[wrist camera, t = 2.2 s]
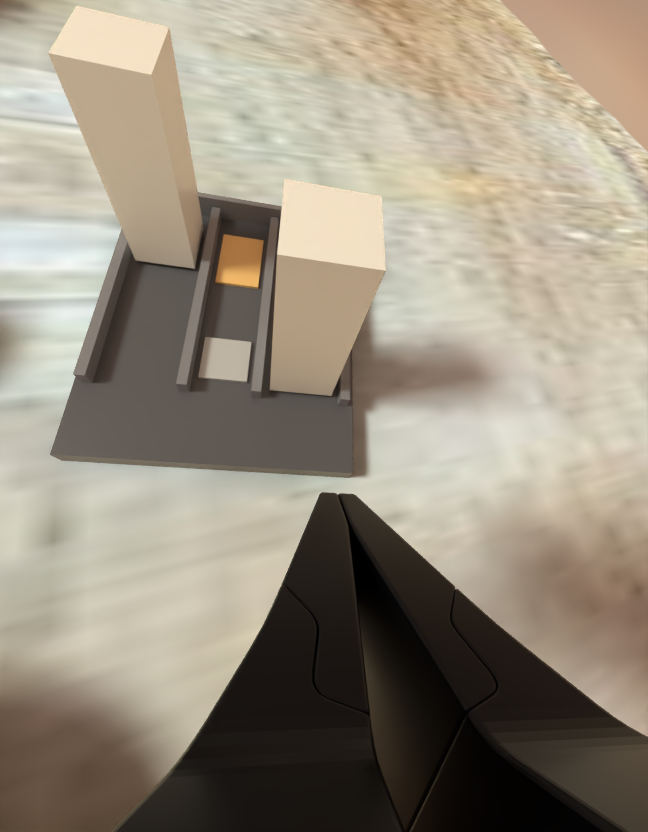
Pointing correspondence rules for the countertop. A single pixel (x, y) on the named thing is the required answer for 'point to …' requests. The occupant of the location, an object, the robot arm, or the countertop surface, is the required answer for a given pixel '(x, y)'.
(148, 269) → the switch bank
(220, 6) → the countertop surface
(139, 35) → the tab far
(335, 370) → the cream tall block
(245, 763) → the robot arm
